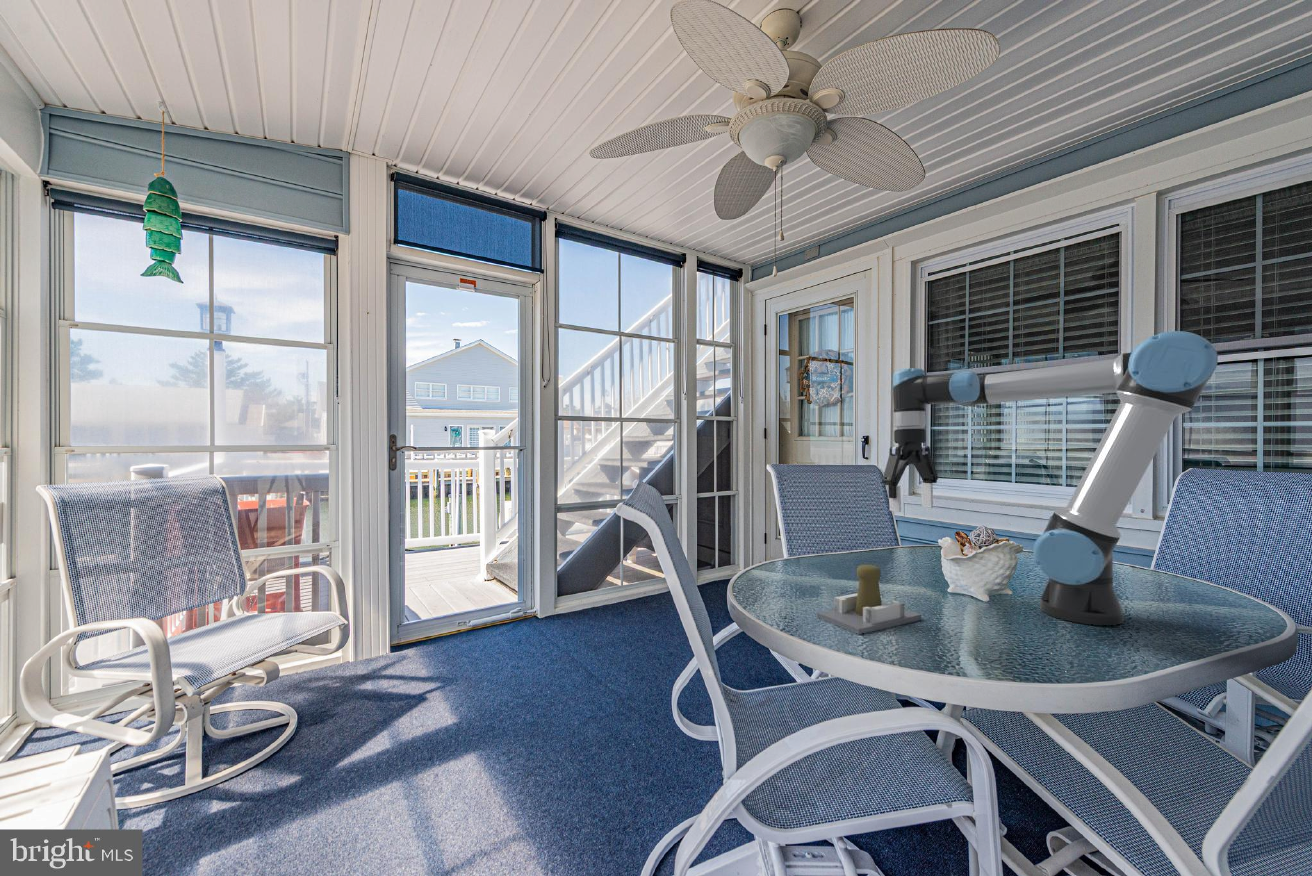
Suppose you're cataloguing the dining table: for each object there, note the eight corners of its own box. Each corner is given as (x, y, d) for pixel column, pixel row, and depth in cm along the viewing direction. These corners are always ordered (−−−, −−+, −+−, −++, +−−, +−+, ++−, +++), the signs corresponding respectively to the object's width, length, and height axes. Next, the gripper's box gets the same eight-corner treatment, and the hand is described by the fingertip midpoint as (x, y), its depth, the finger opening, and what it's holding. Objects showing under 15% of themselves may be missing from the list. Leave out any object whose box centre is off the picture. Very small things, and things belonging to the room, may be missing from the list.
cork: (880, 619, 115) (880, 570, 115) (852, 614, 118) (852, 566, 118) (885, 612, 120) (885, 564, 120) (857, 607, 124) (857, 561, 124)
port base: (921, 619, 118) (920, 601, 119) (858, 634, 109) (858, 614, 109) (877, 605, 129) (877, 588, 129) (817, 617, 120) (817, 599, 120)
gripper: (924, 429, 146) (926, 504, 145) (866, 428, 133) (868, 511, 133) (951, 428, 139) (953, 507, 139) (892, 427, 127) (894, 514, 126)
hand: (911, 509), depth 136 cm, fingers open, 13 cm apart
